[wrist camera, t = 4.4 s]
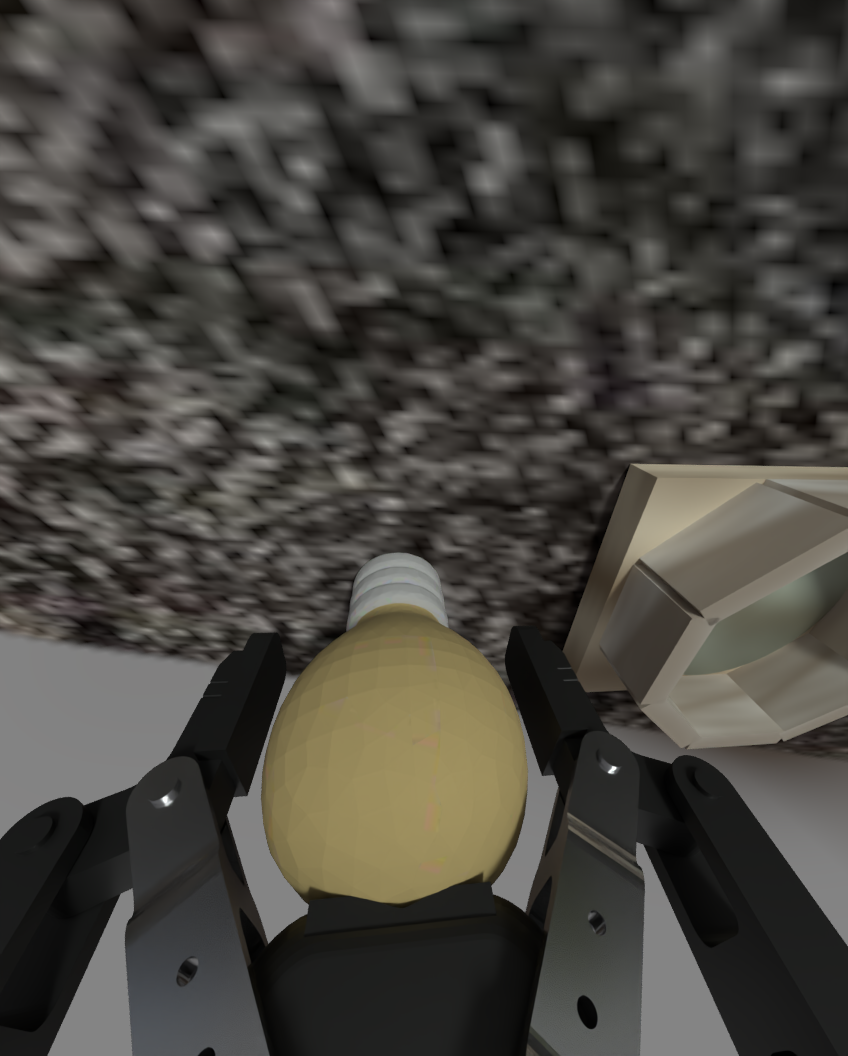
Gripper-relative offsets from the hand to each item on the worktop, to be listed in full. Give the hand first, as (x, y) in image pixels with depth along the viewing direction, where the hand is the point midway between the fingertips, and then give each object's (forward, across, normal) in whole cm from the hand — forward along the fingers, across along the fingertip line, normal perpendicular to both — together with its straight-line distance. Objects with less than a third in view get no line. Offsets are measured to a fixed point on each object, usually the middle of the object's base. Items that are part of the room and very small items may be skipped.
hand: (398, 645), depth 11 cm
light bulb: (+4, 0, 0) cm, 4 cm away
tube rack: (+4, -22, 0) cm, 22 cm away
